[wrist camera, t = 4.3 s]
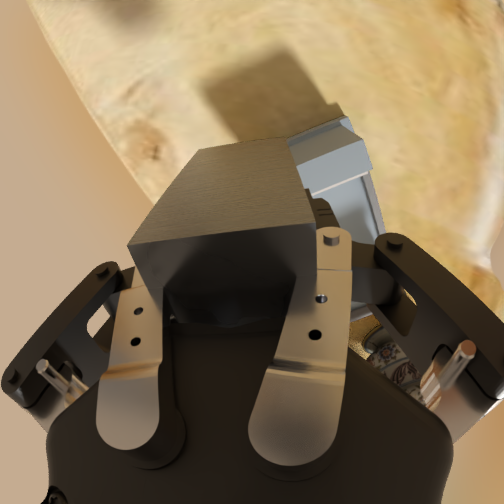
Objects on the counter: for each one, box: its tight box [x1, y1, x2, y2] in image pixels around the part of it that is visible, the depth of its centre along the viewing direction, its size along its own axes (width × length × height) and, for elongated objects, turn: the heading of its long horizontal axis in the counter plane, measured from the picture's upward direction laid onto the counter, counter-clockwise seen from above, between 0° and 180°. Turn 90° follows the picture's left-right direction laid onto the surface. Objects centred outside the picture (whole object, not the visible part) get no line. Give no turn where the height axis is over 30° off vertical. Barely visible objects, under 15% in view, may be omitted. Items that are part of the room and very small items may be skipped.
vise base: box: [286, 116, 386, 245], centre depth 27 cm, size 20×11×7 cm, turn 27°
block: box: [127, 137, 317, 328], centre depth 10 cm, size 4×6×8 cm, turn 9°
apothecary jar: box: [362, 324, 426, 407], centre depth 36 cm, size 12×12×18 cm
